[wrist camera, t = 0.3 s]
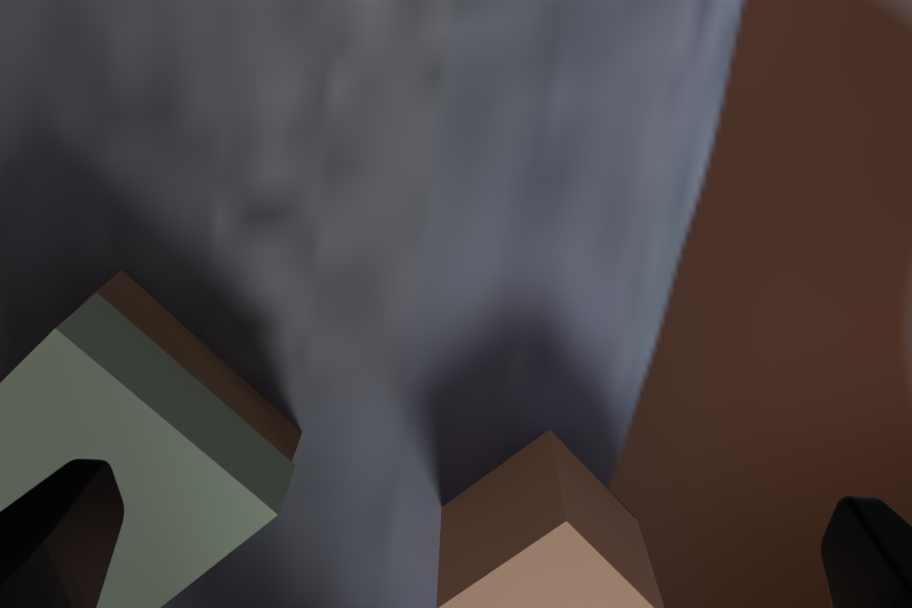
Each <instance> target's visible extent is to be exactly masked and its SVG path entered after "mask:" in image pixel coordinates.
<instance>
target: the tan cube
mask: <svg viewBox="0 0 912 608" xmlns="http://www.w3.org/2000/svg"><path fill="white" fill-rule="evenodd" d="M437 608H664V605H663V602H662V599H661V596H660V593H659V589H658V586H657V583H656V580H655V577H654V574H653V570H652V567H651V564H650V561H649V558H648V555H647V551H646V548H645V545H644V542H643V539H642V536H641V532H640V529H639V526H638V523H637V520H636V517H635V516H634V515H633V514H632V513H631V512H630V511H629V510H628V509H627V508H626V507H625V506H624V505H623V504H622V503H621V502H620V500H618V498H616V496H615V495H614V494H613V493H612V492H611V491H610V490H609V489H607V488H606V487H605V486H604V485H603V484H602V483H601V482H600V481H599V480H598V479H597V478H596V477H595V476H594V475H593V474H592V472H591V471H590V470H589V469H588V468H587V467H586V466H585V465H584V464H583V463H582V462H581V461H580V460H579V459H578V458H577V457H576V456H575V455H574V454H573V453H572V452H571V451H570V450H569V449H568V448H567V447H566V446H565V445H564V443H563V442H562V441H561V440H560V439H559V438H558V437H557V436H556V435H555V434H554V433H553V432H552V431H551V430H550V429H549V430H548V431H546V432H545V433H544V434H542V435H541V436H539V437H538V438H537V439H535V440H534V441H533V442H531V443H530V444H528V445H527V446H526V447H524V448H523V449H521V450H520V451H519V452H517V453H516V454H515V455H513V456H512V457H510V458H509V459H508V460H506V461H505V462H503V463H502V464H501V465H499V466H498V467H497V468H495V469H494V470H492V471H491V472H490V473H488V474H487V475H485V476H484V477H483V478H481V479H480V480H479V481H477V482H476V483H474V484H473V485H472V486H470V487H469V488H467V489H466V490H465V491H463V492H462V493H461V494H459V495H458V496H456V497H455V498H454V499H452V500H451V501H449V502H448V503H447V504H445V505H444V506H443V507H442V511H441V531H440V551H439V571H438V591H437Z"/></svg>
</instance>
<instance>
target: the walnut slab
mask: <svg viewBox="0 0 912 608" xmlns="http://www.w3.org/2000/svg"><path fill="white" fill-rule="evenodd" d="M96 293H98V294H99V295H100V296H101V297H103V298H104V299H105V300H106V301H107V302H108V303H110V304H111V305H112V306H113V307H114V308H115V309H116V310H118V311H119V312H120V313H121V314H122V315H123V316H124V317H126V318H127V319H128V320H129V321H130V322H131V323H133V324H134V325H135V326H136V327H137V328H138V329H139V330H141V331H142V332H143V333H144V334H145V335H146V336H147V337H149V338H150V339H151V340H152V341H153V342H154V343H156V344H157V345H158V346H159V347H160V348H161V349H162V350H164V351H165V352H166V353H167V354H168V355H169V356H170V357H172V358H173V359H174V360H175V361H176V362H177V363H179V364H180V365H181V366H182V367H183V368H184V369H185V370H187V371H188V372H189V373H190V374H191V375H192V376H193V377H195V378H196V379H197V380H198V381H199V382H200V383H202V384H203V385H204V386H205V387H206V388H207V389H208V390H210V391H211V392H212V393H213V394H214V395H215V396H216V397H218V398H219V399H220V400H221V401H222V402H223V403H225V404H226V405H227V406H228V407H229V408H230V409H231V410H233V411H234V412H235V413H236V414H237V415H238V416H239V417H241V418H242V419H243V420H244V421H245V422H246V423H248V424H249V425H250V426H251V427H252V428H253V429H254V430H256V431H257V432H258V433H259V434H260V435H261V436H262V437H264V438H265V439H266V440H267V441H268V442H269V443H271V444H272V445H273V446H274V447H275V448H276V449H277V450H279V451H280V452H281V453H282V454H283V455H284V456H286V457H287V458H288V459H289V460H290V461H291V462H292V459H293V456H294V453H295V451H296V448H297V445H298V442H299V440H300V437H301V434H302V432H301V431H300V430H299V429H298V428H297V427H295V426H294V425H293V424H292V423H291V422H290V421H289V420H288V419H287V418H285V417H284V416H283V415H282V414H281V413H280V412H279V411H278V410H277V409H276V408H274V407H273V406H272V405H271V404H270V403H269V402H268V401H267V400H266V399H264V398H263V397H262V396H261V395H260V394H259V393H258V392H257V391H256V390H255V389H253V388H252V387H251V386H250V385H249V384H248V383H247V382H246V381H245V380H243V379H242V378H241V377H240V376H239V375H238V374H237V373H236V372H235V371H234V370H232V369H231V368H230V367H229V366H228V365H227V364H226V363H225V362H224V361H222V360H221V359H220V358H219V357H218V356H217V355H216V354H215V353H214V352H213V351H211V350H210V349H209V348H208V347H207V346H206V345H205V344H204V343H203V342H201V341H200V340H199V339H198V338H197V337H196V336H195V335H194V334H193V333H192V332H190V331H189V330H188V329H187V328H186V327H185V326H184V325H183V324H182V323H180V322H179V321H178V320H177V319H176V318H175V317H174V316H173V315H172V314H171V313H169V312H168V311H167V310H166V309H165V308H164V307H163V306H162V305H161V304H159V303H158V302H157V301H156V300H155V299H154V298H153V297H152V296H151V295H150V294H148V293H147V292H146V291H145V290H144V289H143V288H142V287H141V286H140V285H138V284H137V283H136V282H135V281H134V280H133V279H132V278H131V277H130V276H129V275H127V274H126V273H125V272H124V271H123V270H121V271H119V272H118V273H117V274H116V275H115V276H113V277H112V278H111V279H110V280H109V281H107V282H106V283H105V284H104V285H103V286H101V287H100V288H99V289H98V290H97V291H95V292H94V293H93V294H92V295H91V296H90V297H89V298H88V299H87V300H86V301H85V302H84V303H86V302H87V301H88V300H89V299H90V298H92V297H93V296H94V295H95V294H96ZM84 303H83V304H84ZM83 304H82V305H83ZM82 305H81V306H82ZM81 306H80V307H81ZM80 307H79V308H80ZM79 308H77V309H79ZM77 309H76V310H77ZM76 310H75V311H76ZM75 311H74V312H75ZM74 312H73V313H74ZM73 313H72V314H73Z"/></svg>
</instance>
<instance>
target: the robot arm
mask: <svg viewBox="0 0 912 608" xmlns="http://www.w3.org/2000/svg"><path fill="white" fill-rule="evenodd" d="M123 519H124V503H123V499H122V497H121V494H120V491H119V488H118V485H117V482H116V479H115V476H114V473H113V470H112V468H111V466H110V464H109V463H108V462H107V461H105V460H100V459H74V460H71V461H69V462H68V463H66V464H65V465H63V466H62V467H60V468H59V469H58V470H56V471H55V472H54V473H52V474H51V475H50V476H48V477H47V478H45V479H44V480H43V481H41V482H40V483H39V484H37V485H36V486H35V487H33V488H32V489H30V490H29V491H28V492H26V493H25V494H24V495H22V496H21V497H19V498H18V499H17V500H15V501H14V502H13V503H11V504H10V505H9V506H7V507H6V508H4V509H3V510H2V511H0V608H96V607H97V604H98V601H99V598H100V594H101V591H102V588H103V585H104V582H105V578H106V575H107V572H108V569H109V565H110V562H111V559H112V556H113V553H114V549H115V546H116V543H117V540H118V536H119V533H120V530H121V527H122V523H123ZM821 558H822V563H823V568H824V572H825V576H826V580H827V586H828V590H829V595H830V599H831V604H832V608H912V525H911V524H910V523H908V522H907V521H906V520H905V519H904V518H903V517H901V516H900V515H899V514H898V513H897V512H896V511H894V510H893V509H892V508H891V507H890V506H889V505H888V504H886V503H885V502H884V501H882V500H881V499H879V498H876V497H867V496H844V497H842V499H840V500H839V502H838V503H837V505H836V507H835V510H834V512H833V514H832V517H831V519H830V521H829V523H828V526H827V528H826V530H825V533H824V535H823V538H822V541H821Z"/></svg>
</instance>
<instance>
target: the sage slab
mask: <svg viewBox="0 0 912 608" xmlns="http://www.w3.org/2000/svg"><path fill="white" fill-rule="evenodd" d="M74 459H100V460H105V461H107V462H108V463H109V464H110V466H111V468H112V470H113V473H114V476H115V479H116V482H117V485H118V488H119V491H120V494H121V497H122V499H123V503H124V519H123V523H122V527H121V530H120V533H119V536H118V540H117V543H116V546H115V549H114V553H113V556H112V559H111V562H110V565H109V569H108V572H107V575H106V578H105V582H104V585H103V588H102V591H101V594H100V598H99V601H98V604H97V607H96V608H161V607H162V606H163V605H165V604H166V603H167V602H168V601H170V600H171V599H172V598H173V597H175V596H176V595H177V594H178V593H180V592H181V591H182V590H184V589H185V588H186V587H187V586H189V585H190V584H191V583H192V582H194V581H195V580H196V579H197V578H199V577H200V576H201V575H203V574H204V573H205V572H206V571H208V570H209V569H210V568H211V567H213V566H214V565H215V564H216V563H218V562H219V561H220V560H222V559H223V558H224V557H225V556H227V555H228V554H229V553H230V552H232V551H233V550H234V549H235V548H237V547H238V546H239V545H241V544H242V543H243V542H244V541H246V540H247V539H248V538H249V537H251V536H252V535H253V534H254V533H256V532H257V531H258V530H259V529H261V528H262V527H263V526H265V525H266V524H267V523H268V522H270V521H271V520H272V519H273V518H275V517H276V516H277V515H278V514H279V511H280V508H281V505H282V502H283V499H284V497H285V494H286V491H287V488H288V485H289V482H290V479H291V477H292V474H293V471H294V468H295V464H294V463H292V462H291V461H290V460H289V459H288V458H287V457H286V456H284V455H283V454H282V453H281V452H280V451H279V450H277V449H276V448H275V447H274V446H273V445H272V444H271V443H269V442H268V441H267V440H266V439H265V438H264V437H262V436H261V435H260V434H259V433H258V432H257V431H256V430H254V429H253V428H252V427H251V426H250V425H249V424H248V423H246V422H245V421H244V420H243V419H242V418H241V417H239V416H238V415H237V414H236V413H235V412H234V411H233V410H231V409H230V408H229V407H228V406H227V405H226V404H225V403H223V402H222V401H221V400H220V399H219V398H218V397H216V396H215V395H214V394H213V393H212V392H211V391H210V390H208V389H207V388H206V387H205V386H204V385H203V384H202V383H200V382H199V381H198V380H197V379H196V378H195V377H193V376H192V375H191V374H190V373H189V372H188V371H187V370H185V369H184V368H183V367H182V366H181V365H180V364H179V363H177V362H176V361H175V360H174V359H173V358H172V357H170V356H169V355H168V354H167V353H166V352H165V351H164V350H162V349H161V348H160V347H159V346H158V345H157V344H156V343H154V342H153V341H152V340H151V339H150V338H149V337H147V336H146V335H145V334H144V333H143V332H142V331H141V330H139V329H138V328H137V327H136V326H135V325H134V324H133V323H131V322H130V321H129V320H128V319H127V318H126V317H124V316H123V315H122V314H121V313H120V312H119V311H118V310H116V309H115V308H114V307H113V306H112V305H111V304H110V303H108V302H107V301H106V300H105V299H104V298H103V297H101V296H100V295H99V294H98V293H96V294H95V295H94V296H93V297H92V298H90V299H89V300H88V301H87V302H86V303H84V304H83V305H82V306H81V307H80V308H79V309H77V310H76V311H75V312H74V313H73V314H71V315H70V316H69V317H68V318H67V319H65V320H64V321H63V322H62V323H61V324H60V325H58V326H57V327H56V328H55V329H54V330H53V331H52V332H51V333H50V334H49V335H48V336H47V337H46V338H45V339H44V340H43V341H42V342H41V343H40V344H39V345H38V346H37V347H36V348H35V349H34V350H33V351H32V352H31V353H30V354H29V355H28V356H27V357H26V358H25V359H24V360H23V361H22V362H21V363H20V364H19V365H18V366H17V367H16V368H15V369H14V370H13V371H12V372H11V373H10V374H9V375H8V376H7V377H6V378H5V379H4V380H3V381H2V382H1V383H0V511H2V510H3V509H4V508H6V507H7V506H9V505H10V504H11V503H13V502H14V501H15V500H17V499H18V498H19V497H21V496H22V495H24V494H25V493H26V492H28V491H29V490H30V489H32V488H33V487H35V486H36V485H37V484H39V483H40V482H41V481H43V480H44V479H45V478H47V477H48V476H50V475H51V474H52V473H54V472H55V471H56V470H58V469H59V468H60V467H62V466H63V465H65V464H66V463H68V462H69V461H71V460H74Z"/></svg>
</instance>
